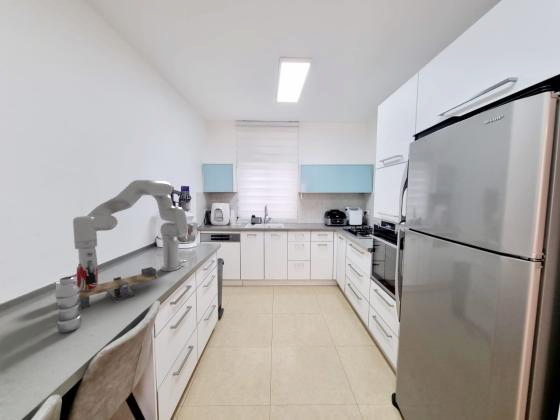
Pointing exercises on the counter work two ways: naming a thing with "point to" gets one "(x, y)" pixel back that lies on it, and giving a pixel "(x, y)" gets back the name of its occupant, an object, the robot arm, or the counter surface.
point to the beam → (145, 276)
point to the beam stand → (111, 294)
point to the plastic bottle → (68, 305)
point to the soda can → (82, 279)
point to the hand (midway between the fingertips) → (88, 280)
